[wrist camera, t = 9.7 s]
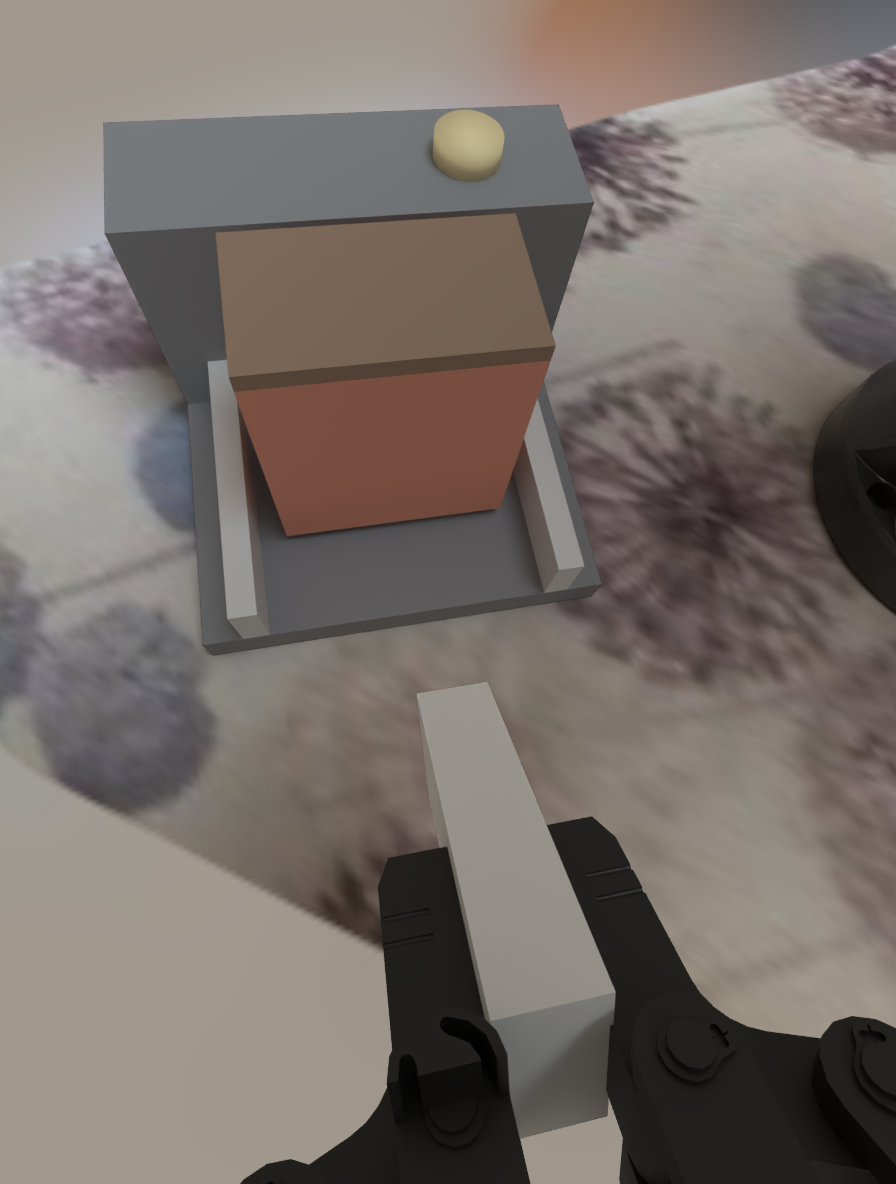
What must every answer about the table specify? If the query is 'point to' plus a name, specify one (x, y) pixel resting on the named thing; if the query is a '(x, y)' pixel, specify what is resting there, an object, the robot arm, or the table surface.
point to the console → (217, 428)
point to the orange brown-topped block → (384, 364)
